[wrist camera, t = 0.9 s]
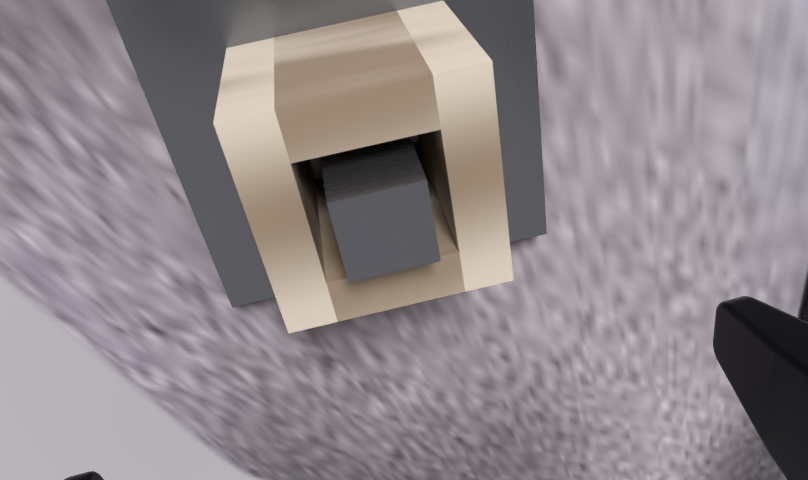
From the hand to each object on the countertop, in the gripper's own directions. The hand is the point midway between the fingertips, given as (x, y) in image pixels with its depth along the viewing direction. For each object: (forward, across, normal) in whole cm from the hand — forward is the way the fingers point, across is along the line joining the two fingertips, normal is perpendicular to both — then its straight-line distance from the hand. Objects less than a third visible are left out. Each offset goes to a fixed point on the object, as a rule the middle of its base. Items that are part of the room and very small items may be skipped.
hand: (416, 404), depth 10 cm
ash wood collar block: (+12, 0, +1) cm, 12 cm away
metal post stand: (+13, 0, +1) cm, 13 cm away
